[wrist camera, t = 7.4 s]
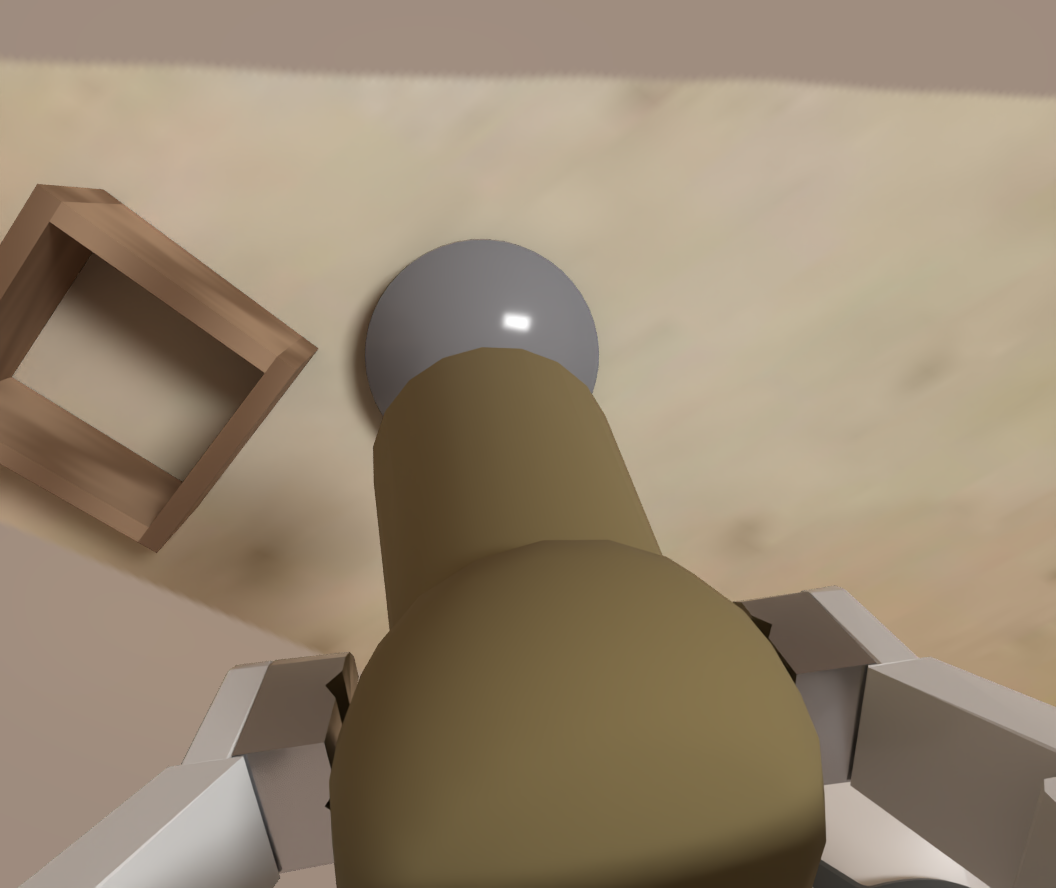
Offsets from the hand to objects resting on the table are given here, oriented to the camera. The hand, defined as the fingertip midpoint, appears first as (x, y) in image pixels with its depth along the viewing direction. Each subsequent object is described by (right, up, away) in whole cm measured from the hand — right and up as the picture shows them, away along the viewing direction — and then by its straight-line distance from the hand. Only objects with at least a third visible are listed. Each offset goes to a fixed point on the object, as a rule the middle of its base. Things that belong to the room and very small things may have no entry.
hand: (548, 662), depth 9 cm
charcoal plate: (-2, +7, +19) cm, 20 cm away
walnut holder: (-16, +6, +17) cm, 24 cm away
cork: (-1, +3, +7) cm, 8 cm away
